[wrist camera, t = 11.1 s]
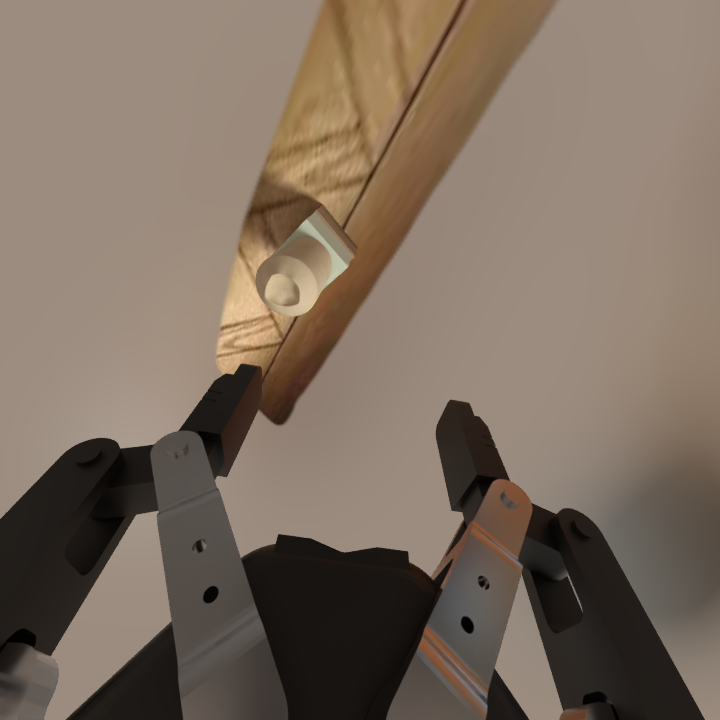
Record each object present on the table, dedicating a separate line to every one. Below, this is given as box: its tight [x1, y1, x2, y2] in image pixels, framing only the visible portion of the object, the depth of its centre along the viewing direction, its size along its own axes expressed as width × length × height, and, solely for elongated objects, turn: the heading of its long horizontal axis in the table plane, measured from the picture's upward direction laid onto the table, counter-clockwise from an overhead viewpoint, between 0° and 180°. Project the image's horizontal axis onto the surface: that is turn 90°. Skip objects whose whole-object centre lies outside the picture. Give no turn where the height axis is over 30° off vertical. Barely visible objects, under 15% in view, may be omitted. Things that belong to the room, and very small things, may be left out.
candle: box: [256, 237, 332, 316], centre depth 29 cm, size 6×6×10 cm
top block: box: [274, 212, 351, 290], centre depth 35 cm, size 6×6×5 cm
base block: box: [315, 205, 357, 261], centre depth 39 cm, size 7×7×5 cm
